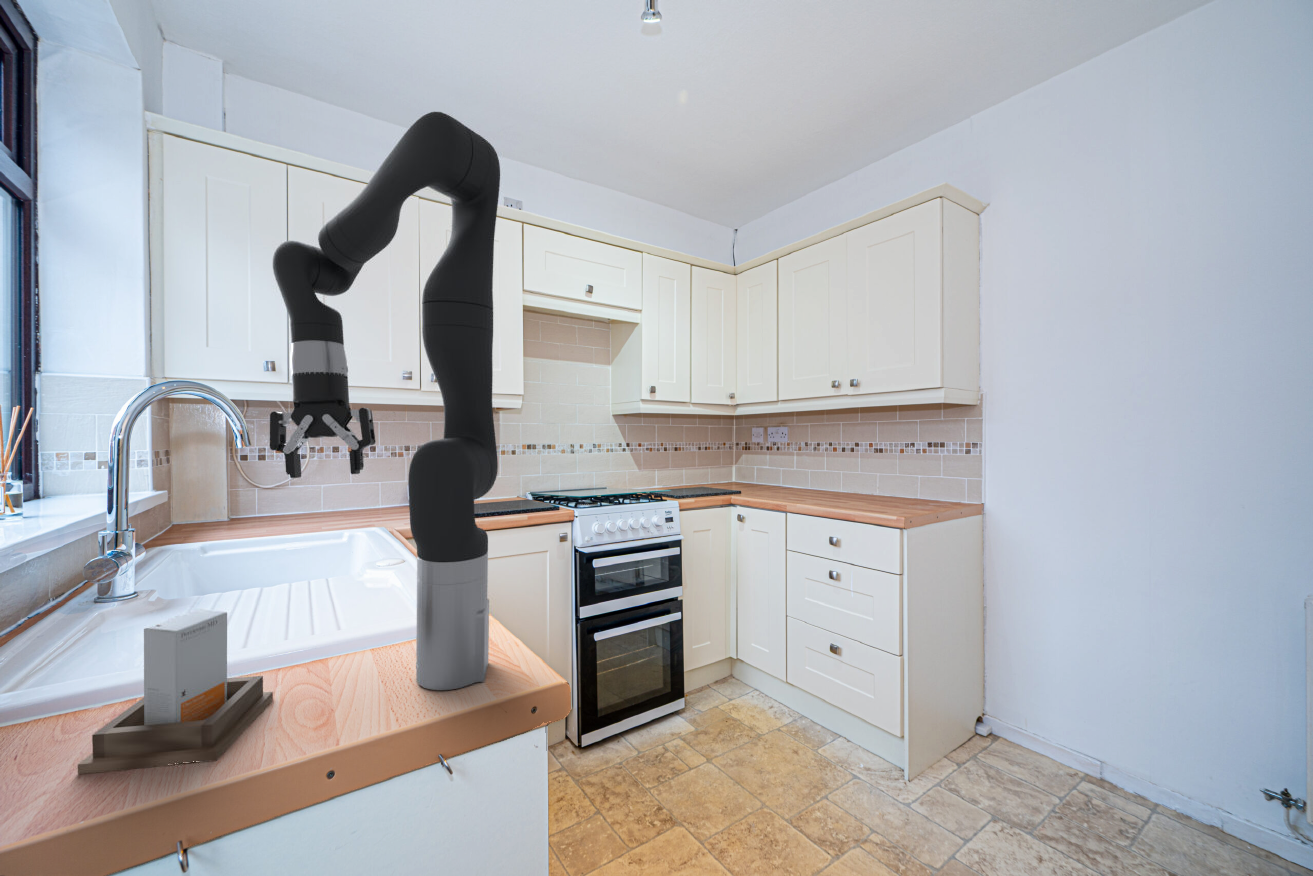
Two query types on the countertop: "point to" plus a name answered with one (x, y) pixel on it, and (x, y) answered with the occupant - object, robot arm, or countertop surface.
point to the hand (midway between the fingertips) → (326, 475)
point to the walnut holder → (176, 733)
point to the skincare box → (185, 667)
